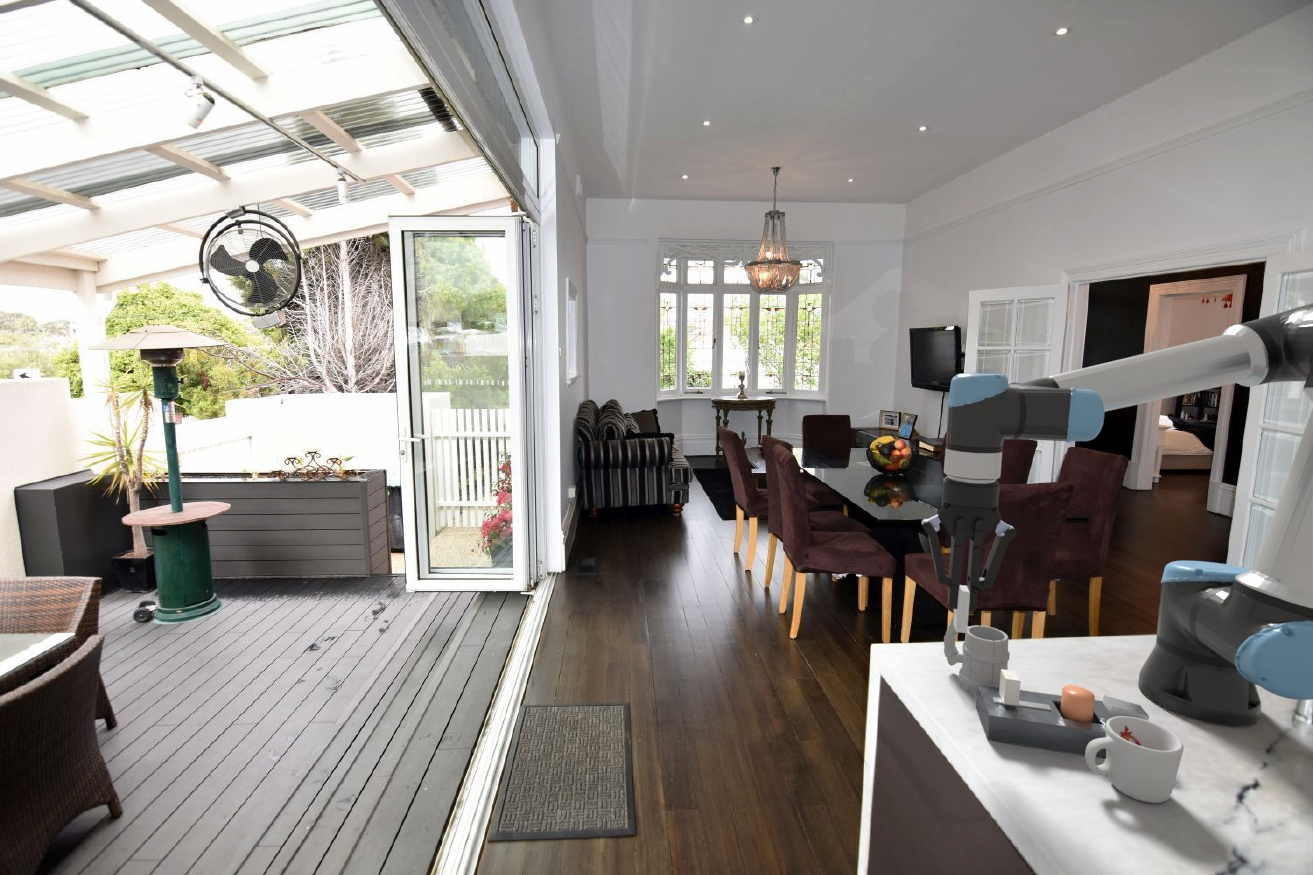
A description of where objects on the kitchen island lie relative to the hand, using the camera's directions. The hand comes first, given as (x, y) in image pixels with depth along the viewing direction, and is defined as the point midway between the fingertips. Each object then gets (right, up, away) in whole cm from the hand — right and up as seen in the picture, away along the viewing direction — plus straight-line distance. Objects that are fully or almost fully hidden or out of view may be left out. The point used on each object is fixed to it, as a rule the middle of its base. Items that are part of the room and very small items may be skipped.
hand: (960, 628), depth 95 cm
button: (+16, -13, -3) cm, 21 cm away
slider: (+7, -11, -1) cm, 13 cm away
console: (+14, -15, -2) cm, 21 cm away
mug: (+9, -14, +13) cm, 21 cm away
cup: (+15, -17, -14) cm, 27 cm away
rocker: (+21, -10, -5) cm, 24 cm away
